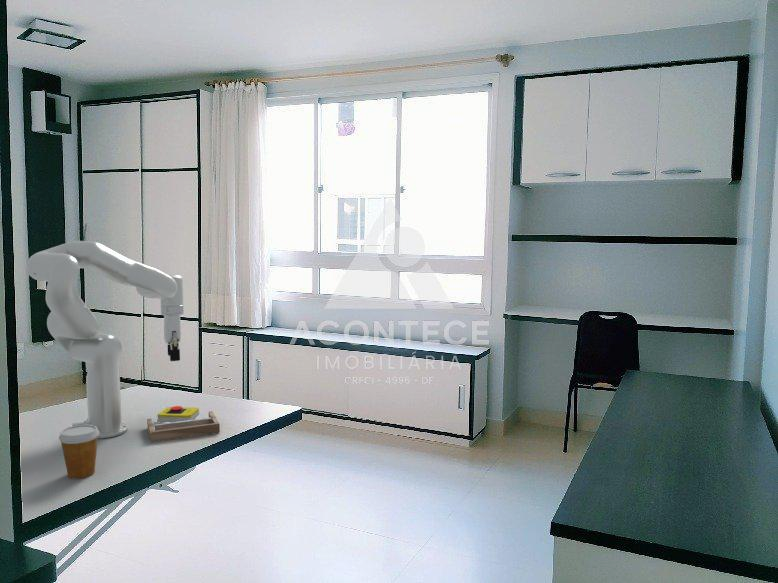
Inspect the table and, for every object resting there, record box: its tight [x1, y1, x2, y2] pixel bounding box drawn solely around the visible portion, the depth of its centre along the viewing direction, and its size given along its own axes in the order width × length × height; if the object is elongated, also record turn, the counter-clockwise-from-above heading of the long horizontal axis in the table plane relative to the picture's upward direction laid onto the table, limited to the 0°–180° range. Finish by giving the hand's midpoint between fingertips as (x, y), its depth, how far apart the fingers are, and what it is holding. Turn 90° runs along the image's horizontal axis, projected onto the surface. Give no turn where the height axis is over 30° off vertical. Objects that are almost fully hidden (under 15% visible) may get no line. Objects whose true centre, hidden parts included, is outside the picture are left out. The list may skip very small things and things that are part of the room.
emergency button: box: [156, 405, 200, 422], centre depth 208 cm, size 9×4×15 cm
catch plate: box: [154, 417, 211, 431], centre depth 195 cm, size 1×17×3 cm, turn 115°
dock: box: [146, 411, 221, 443], centre depth 196 cm, size 14×20×3 cm
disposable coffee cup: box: [58, 425, 99, 480], centre depth 161 cm, size 10×10×12 cm
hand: (173, 357), depth 218 cm, fingers open, 9 cm apart
